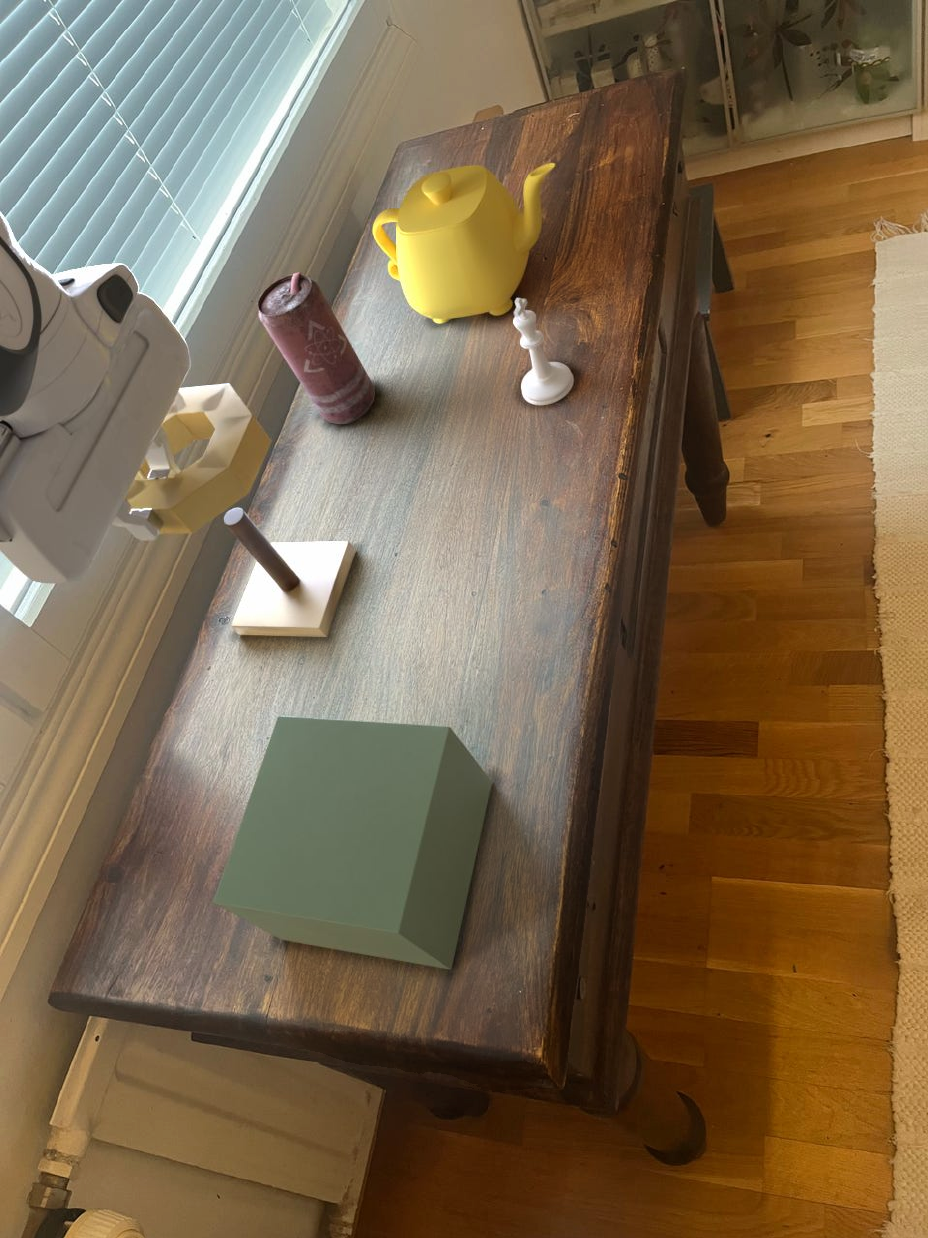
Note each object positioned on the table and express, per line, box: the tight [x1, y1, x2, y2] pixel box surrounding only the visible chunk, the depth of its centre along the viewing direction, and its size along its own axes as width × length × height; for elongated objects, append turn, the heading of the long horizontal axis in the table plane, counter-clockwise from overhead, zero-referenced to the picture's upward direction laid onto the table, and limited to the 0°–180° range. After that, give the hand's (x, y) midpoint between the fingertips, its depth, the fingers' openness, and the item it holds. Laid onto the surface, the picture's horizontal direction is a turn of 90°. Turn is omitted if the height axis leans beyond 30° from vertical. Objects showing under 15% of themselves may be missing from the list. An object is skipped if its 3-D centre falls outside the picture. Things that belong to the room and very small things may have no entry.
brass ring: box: [125, 383, 272, 535], centre depth 68 cm, size 12×12×3 cm
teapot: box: [372, 162, 556, 324], centre depth 92 cm, size 14×20×13 cm
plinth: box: [212, 715, 493, 970], centre depth 62 cm, size 13×13×9 cm
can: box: [257, 271, 376, 425], centre depth 89 cm, size 6×6×14 cm
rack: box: [223, 507, 356, 638], centre depth 78 cm, size 9×9×11 cm
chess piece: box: [512, 297, 575, 406], centre depth 82 cm, size 5×5×10 cm
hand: (164, 508), depth 66 cm, fingers closed on brass ring, 3 cm apart
